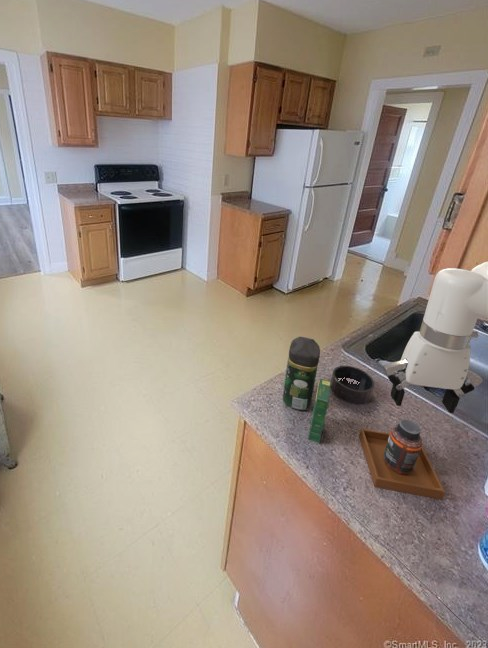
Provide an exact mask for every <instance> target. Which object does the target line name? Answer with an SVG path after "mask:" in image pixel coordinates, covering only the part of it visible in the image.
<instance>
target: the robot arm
mask: <svg viewBox="0 0 488 648" xmlns="http://www.w3.org/2000/svg"><path fill="white" fill-rule="evenodd" d="M479 318H483V319H487V320H488V261H485V262H483V263H480V264H478V265H476V266H475V267H474V268H472V269H471V270H467V269H463V268H450V267H449V268H443V269H441V270H439V271H438V272H437V273H436V275H435V276H434V279H433V283H432V287H431V290H430V295H429V298H428V301H427V303H426V308H425V312H424V314H423V319H422V321H421V325H420V329H419V331H414V332H413V333H412V335H411V336H410V338H409V340H408V342H407V344H406V346H405V348H404V350H403V352H402V356H401V358H400V360H396V361H392V362H388V363H384V364H383V365H382V366H383V369H384V372H385V373H386V374H385V375H386V376H387V378H388V380H389V382H390V383H391V384H392V387H391V390H390V397H391V399H392V400H393V401H394V403H395V405H396V406H397V407H400V406H402V403H403V400H404V397H405V392H406V391H405V388H407V387H409V386H411V385H415V386H421V387H429V388H437V389H444V390H445V392H444V394H443V396H442V397H443V398H442V400H441V403H442V405H443V406H444V408H445V409H446V410H447V412H448V413H450V414H454V413H455V410H456V408H457V407H458V406H459V405H458V404H459V402H460V400H461V399H463V398H466V397H465V396H466V394H468V393H470V392H473V391H474V390H475V388H476V387H478V386H479V385H480V384H481V383H483V381H484V379H483V378H482V377H481V375H479V374H478V373H475V372H474V371H472V370H470V369H469V368H470V361H471V345H470V342H471V339H478V338H479V331H477V330H474V329H475V326H476V324H477V321H478V319H479ZM397 371H400V372H398V373H397V374H394V373H395V372H397ZM466 379H467V380H466Z"/></svg>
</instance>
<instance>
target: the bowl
mask: <svg viewBox="0 0 488 648" xmlns="http://www.w3.org/2000/svg"><path fill="white" fill-rule="evenodd" d="M344 377H345V379H343V378H344ZM338 378H342V379H343V381H342V379H341V380H340V381H338V380H339V379H338ZM346 378H350V379H354V380H356V381H358V382H360V383H359V384H358V382H357V384H358V385H357V384H353V382H354V381H353V382H351V384H350V382H349V383H348V381H347V380H346ZM330 386H331V387H330V390H331V389H332V390H331V391H332V393H333V392H334V393H333V394H334V395H335V396H336V397H337V398H339V400H341V401H343V402H346V403H349V404H351V405H356V406H357V405H358V406H359V405H365V404H368V403H369V402H370V401H371V399H372V397H373V393H374V389H375V380H374V378H373V377H372V376H371V375H370V374H369V373H368V372H367V371H365V370H362V369H360V368H359V367H355V366H352V365H339V366H336V367H335V368H334V369H333V370H332V374H331V380H330Z"/></svg>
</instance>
